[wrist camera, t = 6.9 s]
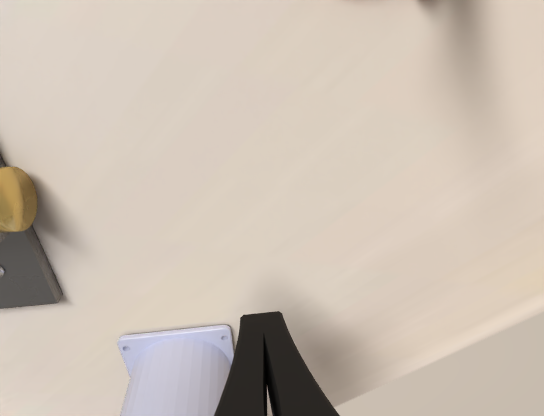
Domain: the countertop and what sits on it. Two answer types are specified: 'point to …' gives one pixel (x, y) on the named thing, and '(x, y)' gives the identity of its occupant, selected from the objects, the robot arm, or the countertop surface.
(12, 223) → the pin
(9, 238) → the hinge
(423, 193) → the countertop surface
